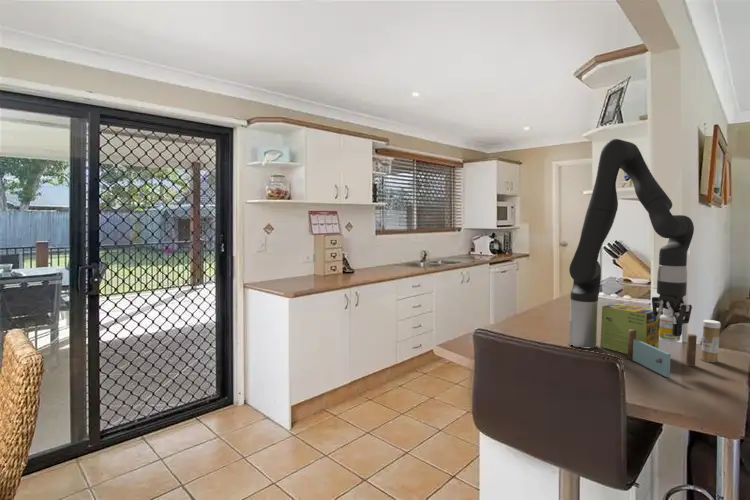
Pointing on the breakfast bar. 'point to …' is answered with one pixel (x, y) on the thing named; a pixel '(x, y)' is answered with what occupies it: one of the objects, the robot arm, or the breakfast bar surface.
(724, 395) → the breakfast bar surface
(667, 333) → the supplement bottle
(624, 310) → the protein box
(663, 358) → the door
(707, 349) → the sprinkles bottle
